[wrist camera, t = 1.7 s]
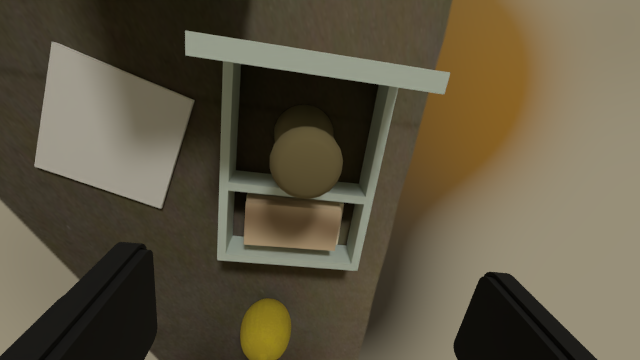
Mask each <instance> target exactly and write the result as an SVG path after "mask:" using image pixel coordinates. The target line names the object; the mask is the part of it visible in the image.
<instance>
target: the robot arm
mask: <svg viewBox="0 0 640 360" xmlns="http://www.w3.org/2000/svg"><path fill="white" fill-rule="evenodd" d="M156 333H157V313H156V297H155V281H154V265H153V253H152V251H151V250H147V249H146V246H145V245H144V244H139V243H126V242H119V243H117V244H116V245H115V246H114V247H113V248H112V249H111V250H110V251H109V252H108V253H107V254H106V255H105V256H104V257H103V258H102V259H101V260H100V261H99V262H98V263H97V264H96V265H95V266H94V267H93V268H92V269H91V270H90V271H89V272H88V273H87V274H85V275H84V276H83V277H82V278H81V279H80V280H79V281H78V282H77V283H76V284H75V285H74V286H73V287H72V288H71V289H70V290H69V291H68V292H67V293H66V294H65V295H64V296H62V297H61V298H60V299H59V300H57V301H56V302H55V303H54V305H52V306H51V307H50V308H49V309H48V310H47V311H46V312H45V313H44V314H43V315H42V316H41V317H40V318H39V319H38V320H37V321H36V322H35V323H34V324H33V325H32V326H31V327H30V328H29V329H28V330H27V331H26V332H25V333H24V334H23V335H22V336H21V337H19V338H18V339H17V340H16V341H15V342H14V343H13V344H12V345H11V346H10V347H9V348H8V349H7V350H6V351H5V352H4V353H3V354H2V355H1V356H0V360H144V359H145V357H146V355H147V353H148V351H149V349H150V348H151V346H152V344H153V342H154V339H155V337H156ZM454 352H455V355H456V357H457V359H458V360H597V359H596V358H595V357H594V356H593V355H592V354H591V353H590V352H589V351H588V350H587V349H586V348H585V347H584V346H583V345H582V344H581V343H580V342H579V341H578V340H577V339H576V338H575V337H574V336H573V335H572V334H571V333H570V332H569V331H568V330H567V329H566V328H564V326H563V325H562V324H560V322H558V320H557V319H556V318H554V317H553V315H551V314H550V313H549V312H548V311H547V310H546V309H545V308H544V307H543V306H542V305H541V304H540V303H539V302H538V301H537V300H536V299H535V298H534V297H533V296H532V295H531V294H530V293H529V292H528V291H527V290H526V289H525V288H524V287H523V286H522V285H521V284H520V283H519V282H518V281H517V280H516V279H515V278H514V277H513V276H512V275H510V274H507V273H497V272H487V273H486V274H485V275H484V277H481V278H480V280H479V281H478V284H477V286H476V289H475V291H474V294H473V296H472V299H471V301H470V304H469V306H468V309H467V311H466V314H465V316H464V319H463V321H462V324H461V326H460V328H459V331H458V333H457V336H456V338H455V341H454Z"/></svg>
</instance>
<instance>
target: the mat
mask: <svg viewBox="0 0 640 360" xmlns="http://www.w3.org/2000/svg"><path fill="white" fill-rule="evenodd" d="M194 102H195V100H193V99H191V98H188V97H186V96H183V95H181V94H179V93H176V92H174V91H171V90H169V89H167V88H164V87H162V86H159V85H157V84H155V83H152V82H150V81H147V80H145V79H143V78H140V77H138V76H135V75H133V74H131V73H128V72H126V71H123V70H121V69H119V68H116V67H114V66H111V65H109V64H107V63H104V62H102V61H99V60H97V59H95V58H92V57H90V56H87V55H85V54H83V53H80V52H78V51H75V50H73V49H71V48H68V47H66V46H64V45H61V44H59V43H56V42H52V45H51V52H50V59H49V66H48V73H47V80H46V87H45V94H44V102H43V109H42V116H41V123H40V130H39V137H38V144H37V151H36V158H35V165H34V166H35V167H38V168H41V169H44V170H47V171H50V172H53V173H56V174H59V175H62V176H65V177H68V178H71V179H74V180H77V181H79V182H82V183H85V184H88V185H91V186H94V187H97V188H100V189H103V190H106V191H109V192H112V193H115V194H118V195H121V196H124V197H127V198H130V199H133V200H136V201H139V202H142V203H145V204H148V205H151V206H154V207H157V208H160V209H161V208H162V207H163V204H164V201H165V198H166V194H167V191H168V188H169V184H170V181H171V178H172V175H173V171H174V168H175V165H176V161H177V158H178V155H179V151H180V148H181V145H182V141H183V138H184V135H185V131H186V128H187V125H188V121H189V118H190V115H191V112H192V108H193V105H194Z"/></svg>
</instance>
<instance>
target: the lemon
mask: <svg viewBox="0 0 640 360" xmlns="http://www.w3.org/2000/svg"><path fill="white" fill-rule="evenodd" d="M290 334H291V320H290V316H289V313H288V310H287V309H286V308H285V306H284V305H283V304H282V303H281V302H279V301H277V300H275V299H269V298H266V299H262V300H259V301H257V302H255V303H254V304H253V305H252V306H251V307H250V308H249V309H248V310H247V312H246V314H245V316H244V318H243V321H242V324H241V332H240V341H241V346H242V350H243V352H244V354H245V355H246V357H247V358H248V359H249V360H277V359H278V358H279V357H281V355H282V354H283V353H284V351H285V350H286V348H287V345H288V342H289V339H290Z"/></svg>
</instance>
